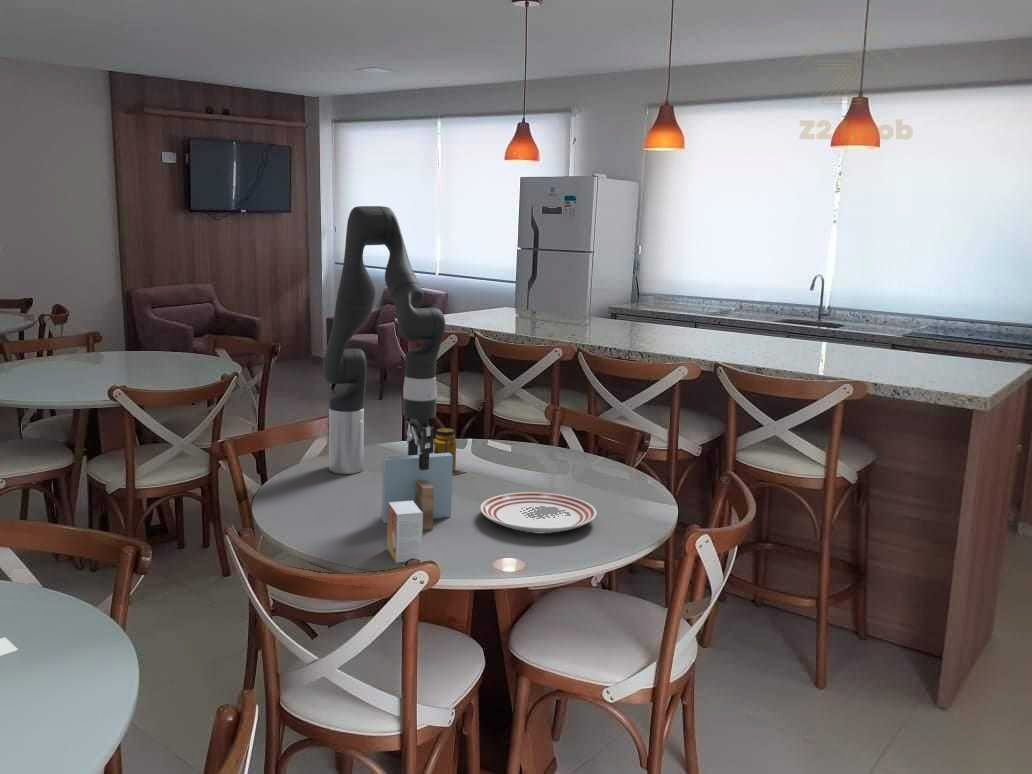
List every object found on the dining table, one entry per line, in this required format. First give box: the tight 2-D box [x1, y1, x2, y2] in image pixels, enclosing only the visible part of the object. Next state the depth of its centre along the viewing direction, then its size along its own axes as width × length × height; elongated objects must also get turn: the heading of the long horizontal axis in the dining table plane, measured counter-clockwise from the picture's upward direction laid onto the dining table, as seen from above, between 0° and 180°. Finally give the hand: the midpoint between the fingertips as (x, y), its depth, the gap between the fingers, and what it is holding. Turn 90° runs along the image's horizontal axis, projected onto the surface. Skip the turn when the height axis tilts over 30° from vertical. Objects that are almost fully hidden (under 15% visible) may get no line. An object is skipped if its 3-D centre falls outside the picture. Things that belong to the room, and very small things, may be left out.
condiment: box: [433, 427, 468, 476], centre depth 241 cm, size 7×8×12 cm
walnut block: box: [409, 480, 434, 532], centre depth 204 cm, size 16×2×10 cm, turn 24°
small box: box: [386, 501, 423, 564], centre depth 183 cm, size 8×6×10 cm
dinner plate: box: [479, 491, 597, 533], centre depth 208 cm, size 28×27×3 cm
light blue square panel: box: [381, 453, 453, 524], centre depth 204 cm, size 2×16×15 cm, turn 113°
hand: (418, 464), depth 203 cm, fingers open, 8 cm apart
